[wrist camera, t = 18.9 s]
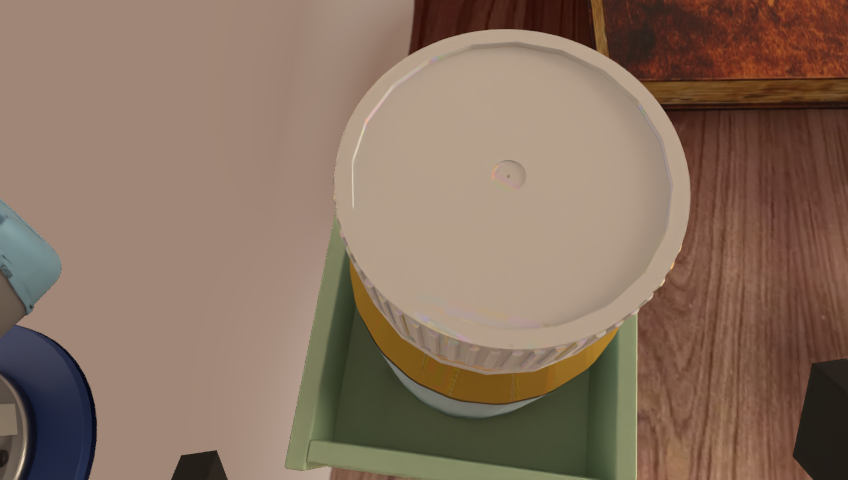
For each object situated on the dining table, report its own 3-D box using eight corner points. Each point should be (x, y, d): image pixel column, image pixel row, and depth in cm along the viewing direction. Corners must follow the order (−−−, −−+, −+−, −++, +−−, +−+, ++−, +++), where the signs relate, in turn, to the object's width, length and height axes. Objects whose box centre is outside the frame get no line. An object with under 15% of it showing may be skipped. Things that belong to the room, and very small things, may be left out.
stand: (521, 473, 46) (647, 521, 18) (376, 452, 47) (274, 467, 18) (531, 328, 50) (646, 177, 22) (397, 311, 51) (340, 146, 22)
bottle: (359, 305, 24) (241, 115, 10) (495, 227, 25) (560, -44, 11) (442, 454, 22) (439, 473, 8) (587, 362, 23) (810, 236, 9)
